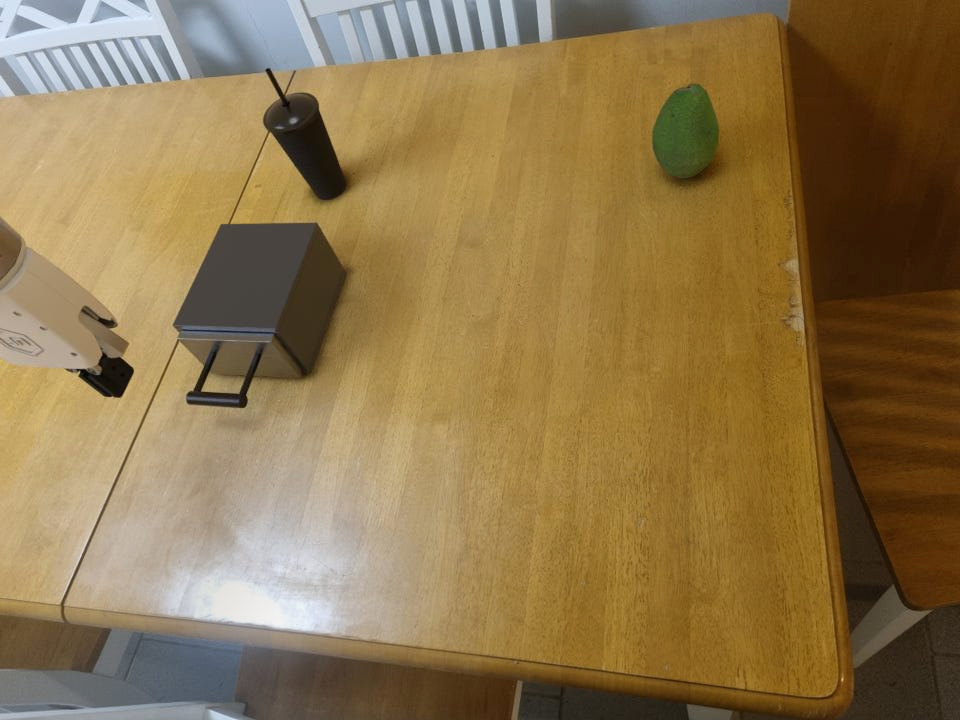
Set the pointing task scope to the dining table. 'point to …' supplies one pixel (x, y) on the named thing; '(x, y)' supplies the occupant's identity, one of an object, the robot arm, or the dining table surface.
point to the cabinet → (267, 285)
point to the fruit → (686, 132)
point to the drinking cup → (305, 140)
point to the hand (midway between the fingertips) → (120, 383)
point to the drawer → (236, 362)
